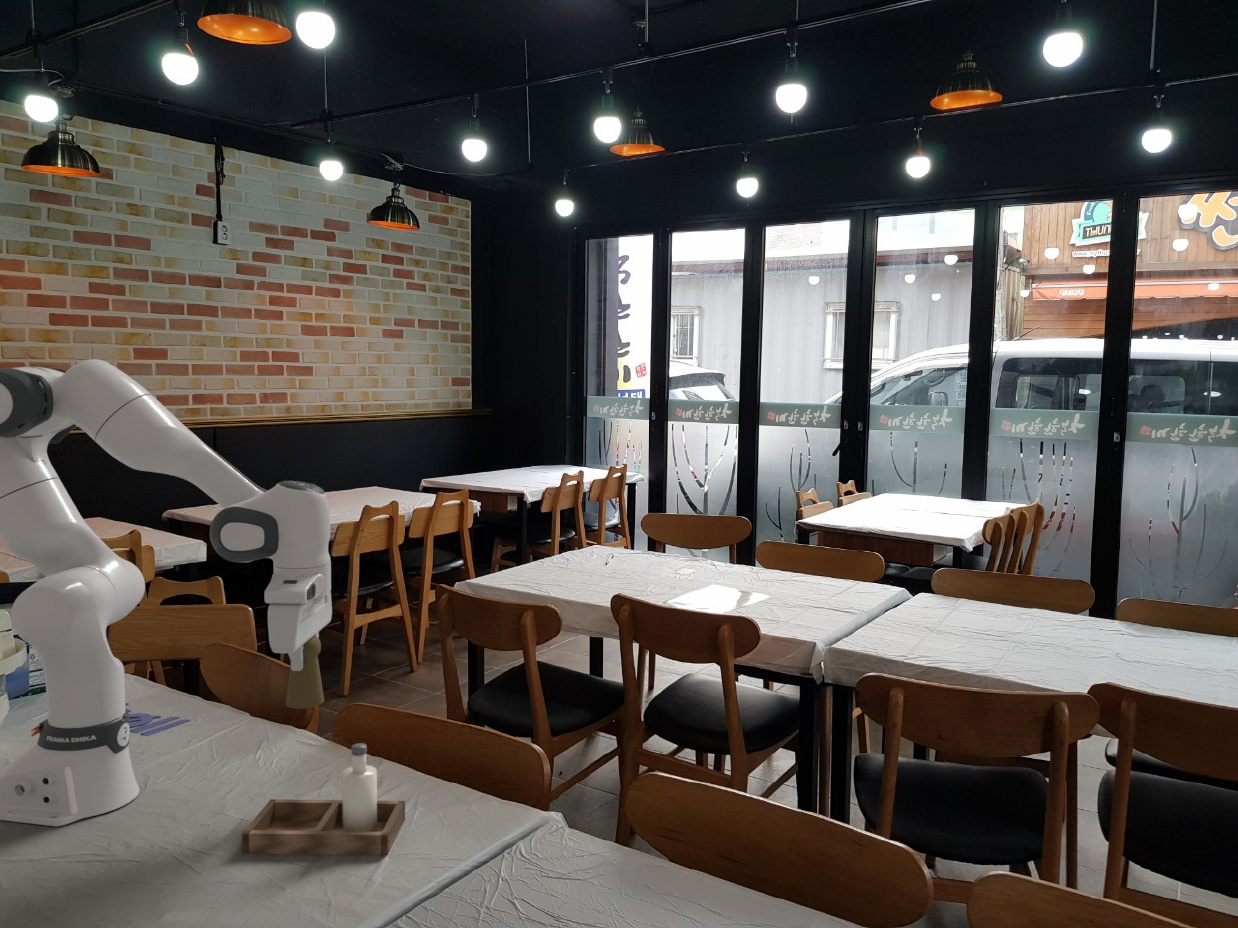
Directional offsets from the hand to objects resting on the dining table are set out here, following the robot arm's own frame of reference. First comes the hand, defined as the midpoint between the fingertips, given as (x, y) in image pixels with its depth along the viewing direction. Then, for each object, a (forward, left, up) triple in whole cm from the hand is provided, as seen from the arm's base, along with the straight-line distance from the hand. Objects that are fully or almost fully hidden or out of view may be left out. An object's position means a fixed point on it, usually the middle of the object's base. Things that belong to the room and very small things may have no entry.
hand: (303, 664), depth 151 cm
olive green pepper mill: (0, 0, -7) cm, 7 cm away
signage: (-50, +37, -24) cm, 67 cm away
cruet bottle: (+13, -14, -22) cm, 29 cm away
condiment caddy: (+8, -14, -23) cm, 28 cm away
